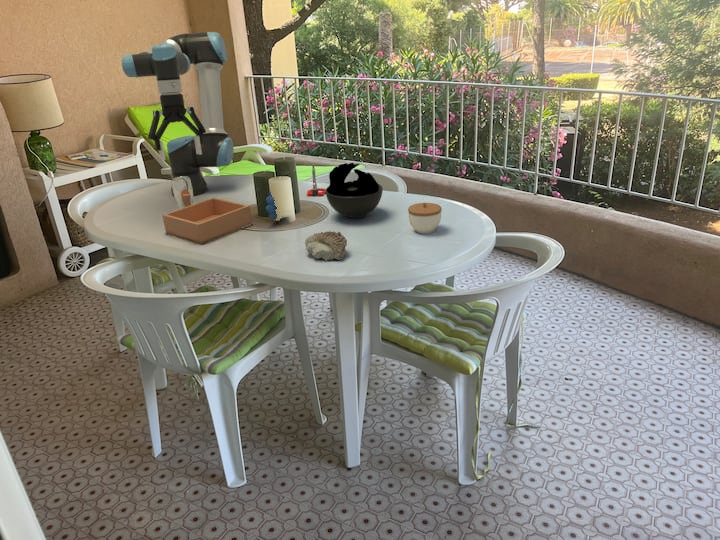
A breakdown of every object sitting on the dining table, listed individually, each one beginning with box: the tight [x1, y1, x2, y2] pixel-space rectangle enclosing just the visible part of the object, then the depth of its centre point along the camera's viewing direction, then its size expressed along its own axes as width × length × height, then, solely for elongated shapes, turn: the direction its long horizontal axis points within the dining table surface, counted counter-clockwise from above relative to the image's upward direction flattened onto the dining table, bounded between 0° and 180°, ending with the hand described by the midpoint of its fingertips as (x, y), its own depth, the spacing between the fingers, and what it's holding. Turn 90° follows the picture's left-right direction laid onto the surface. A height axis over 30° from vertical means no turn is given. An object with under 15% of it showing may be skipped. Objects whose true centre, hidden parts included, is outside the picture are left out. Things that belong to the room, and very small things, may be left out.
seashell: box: [304, 230, 348, 262], centre depth 166 cm, size 14×9×10 cm
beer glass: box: [171, 176, 194, 209], centre depth 204 cm, size 7×7×15 cm
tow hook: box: [306, 163, 327, 197], centre depth 224 cm, size 8×13×9 cm
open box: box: [161, 197, 253, 246], centre depth 192 cm, size 22×20×7 cm
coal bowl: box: [325, 162, 384, 219], centre depth 194 cm, size 20×20×19 cm
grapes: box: [265, 190, 277, 221], centre depth 194 cm, size 12×7×12 cm, turn 160°
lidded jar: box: [407, 201, 443, 234], centre depth 179 cm, size 11×11×9 cm
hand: (181, 157), depth 194 cm, fingers open, 13 cm apart
